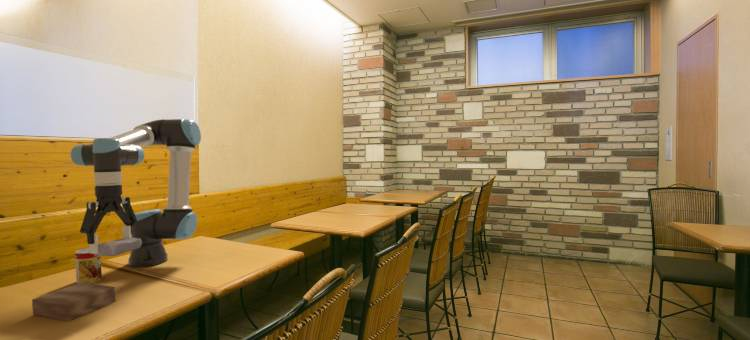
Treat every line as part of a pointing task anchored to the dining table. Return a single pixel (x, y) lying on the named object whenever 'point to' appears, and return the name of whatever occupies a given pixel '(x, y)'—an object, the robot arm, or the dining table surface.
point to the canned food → (87, 266)
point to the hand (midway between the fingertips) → (111, 248)
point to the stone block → (118, 246)
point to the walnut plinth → (73, 301)
